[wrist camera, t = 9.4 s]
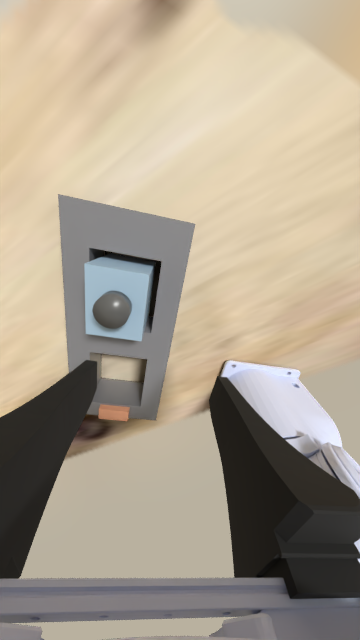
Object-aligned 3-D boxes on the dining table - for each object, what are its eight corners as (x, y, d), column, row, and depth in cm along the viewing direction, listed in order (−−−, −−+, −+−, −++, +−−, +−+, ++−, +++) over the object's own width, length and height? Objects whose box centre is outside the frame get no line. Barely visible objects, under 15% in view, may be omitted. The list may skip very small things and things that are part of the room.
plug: (155, 261, 18) (147, 279, 11) (149, 310, 20) (139, 350, 13) (111, 252, 17) (75, 267, 11) (109, 304, 19) (78, 342, 13)
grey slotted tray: (190, 224, 17) (196, 223, 13) (157, 396, 25) (155, 425, 21) (81, 201, 16) (52, 192, 12) (84, 388, 24) (68, 417, 20)
